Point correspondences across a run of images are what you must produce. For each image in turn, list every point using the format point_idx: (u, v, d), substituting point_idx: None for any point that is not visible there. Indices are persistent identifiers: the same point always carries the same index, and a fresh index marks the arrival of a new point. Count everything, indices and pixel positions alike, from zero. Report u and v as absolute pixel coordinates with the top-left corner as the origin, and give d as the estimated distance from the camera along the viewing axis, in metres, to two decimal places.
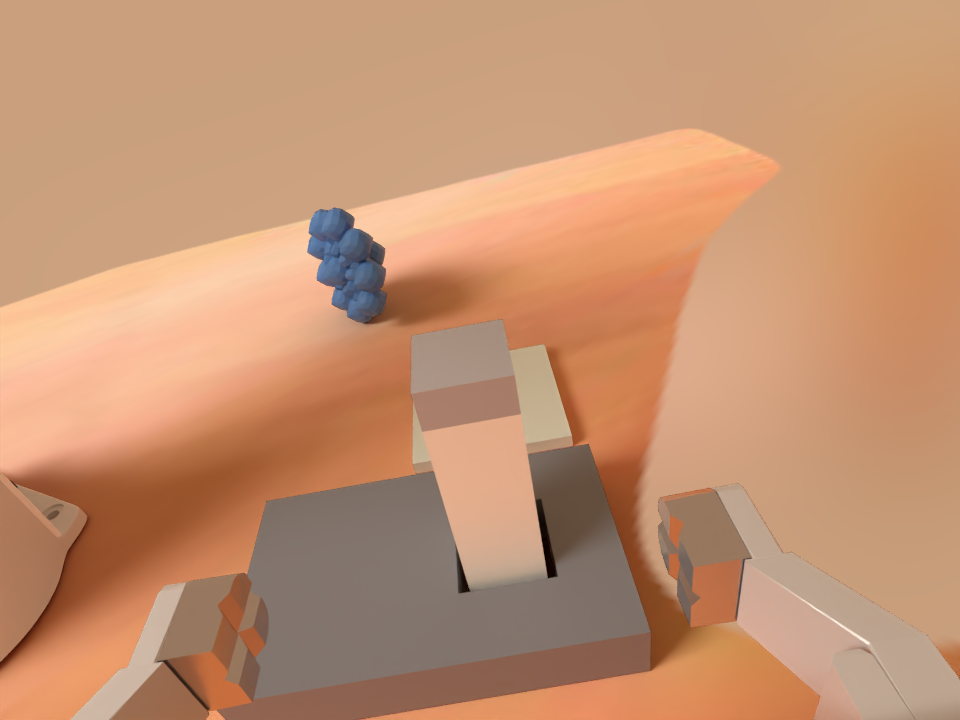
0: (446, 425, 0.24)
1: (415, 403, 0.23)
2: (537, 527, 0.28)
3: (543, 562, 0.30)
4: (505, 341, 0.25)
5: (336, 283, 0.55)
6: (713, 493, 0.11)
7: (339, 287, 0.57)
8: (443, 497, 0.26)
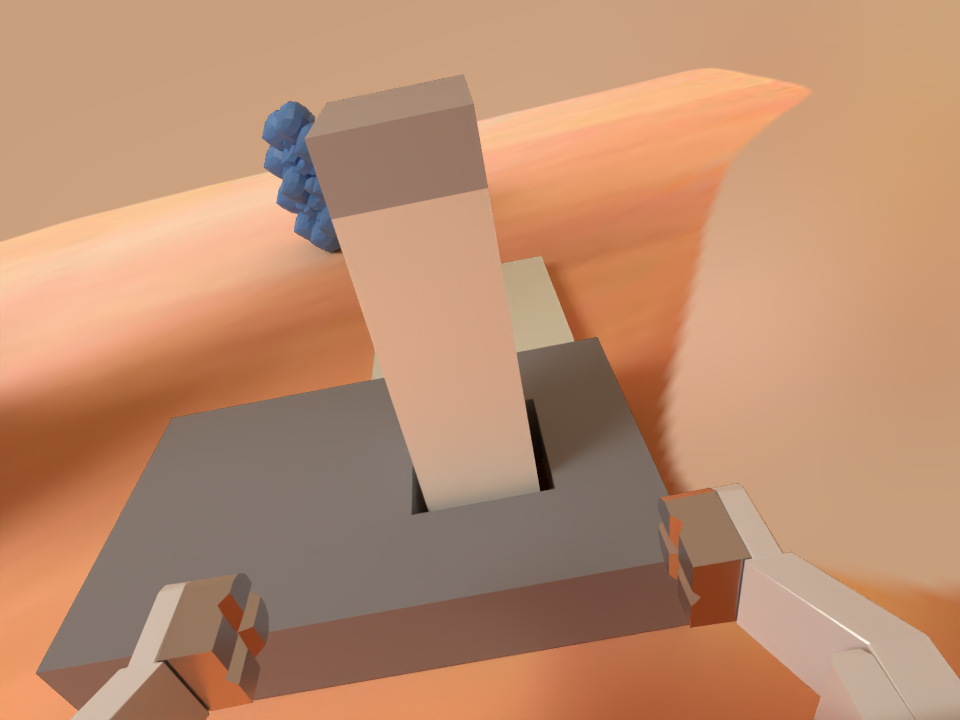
0: (369, 207, 0.15)
1: (314, 159, 0.14)
2: (522, 407, 0.19)
3: (533, 468, 0.21)
4: (464, 85, 0.16)
5: (295, 199, 0.47)
6: (713, 493, 0.11)
7: (301, 207, 0.49)
8: (377, 349, 0.17)
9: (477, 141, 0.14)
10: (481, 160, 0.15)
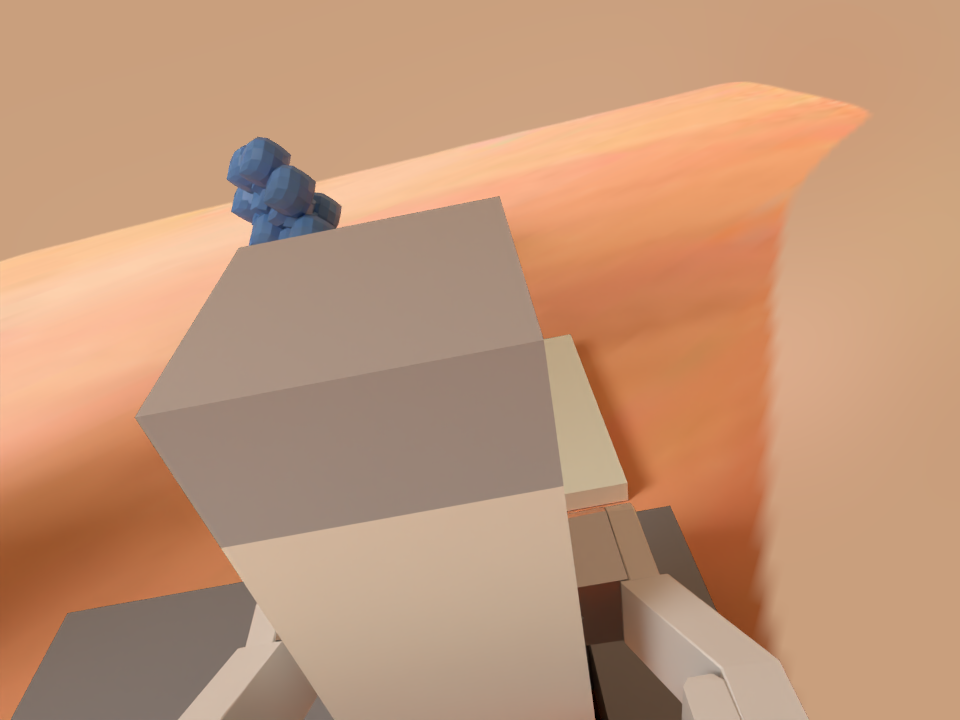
0: (302, 526, 0.07)
1: (165, 454, 0.06)
2: None
3: None
4: (507, 243, 0.08)
5: None
6: (603, 513, 0.11)
7: None
8: (333, 712, 0.09)
9: (547, 410, 0.06)
10: (553, 441, 0.06)
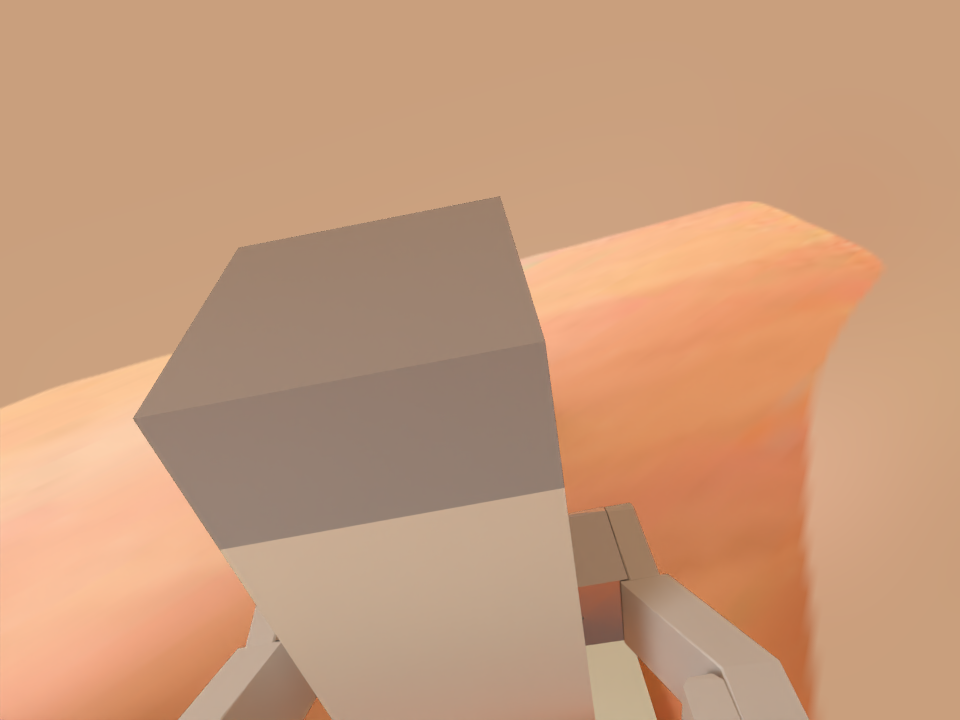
0: (302, 528, 0.07)
1: (164, 455, 0.06)
2: None
3: None
4: (508, 244, 0.08)
5: None
6: (603, 513, 0.11)
7: None
8: (333, 714, 0.09)
9: (548, 411, 0.06)
10: (554, 442, 0.06)
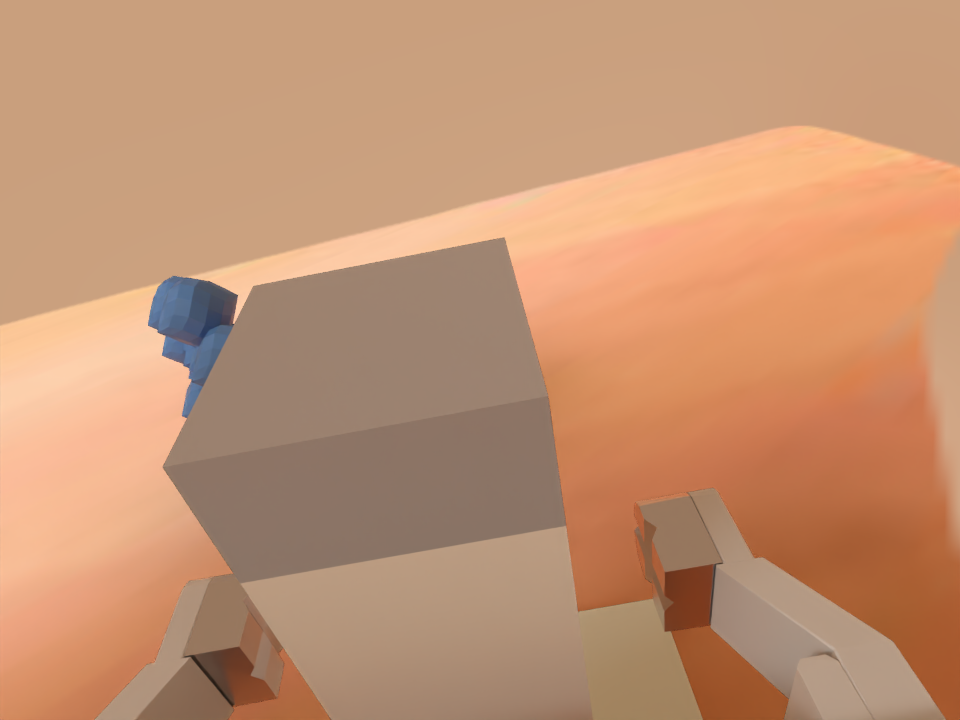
0: (318, 563, 0.07)
1: (190, 499, 0.06)
2: None
3: None
4: (513, 290, 0.08)
5: None
6: (687, 498, 0.11)
7: None
8: None
9: (551, 458, 0.06)
10: (556, 485, 0.07)
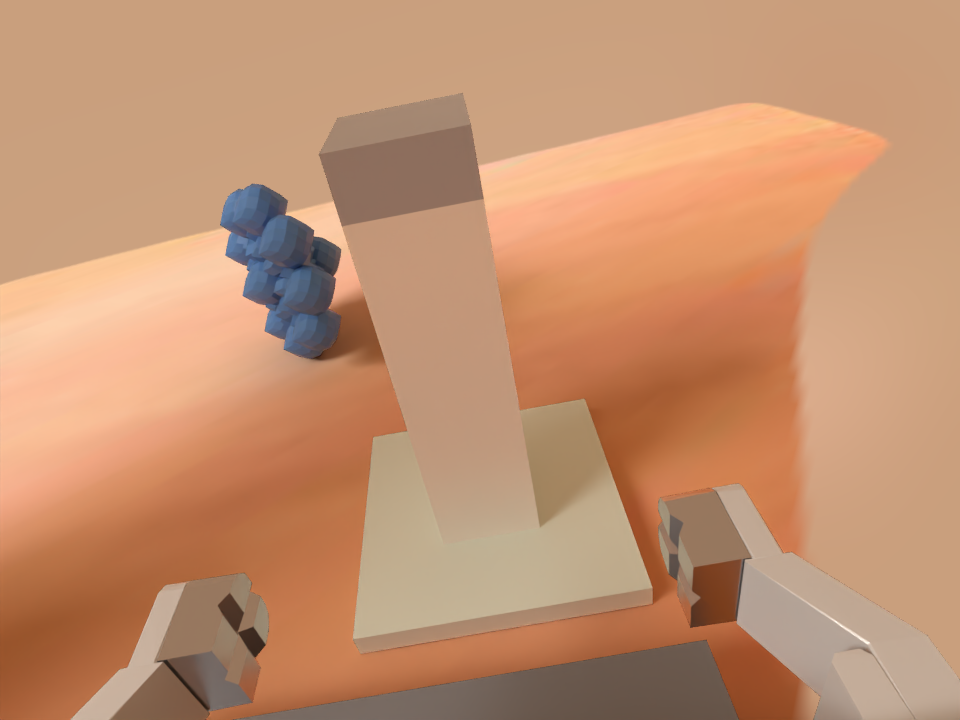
0: (376, 215, 0.17)
1: (327, 172, 0.16)
2: (515, 398, 0.21)
3: (525, 455, 0.22)
4: (463, 105, 0.17)
5: (264, 301, 0.37)
6: (713, 493, 0.11)
7: (272, 306, 0.38)
8: (381, 343, 0.19)
9: (474, 157, 0.16)
10: (477, 174, 0.16)
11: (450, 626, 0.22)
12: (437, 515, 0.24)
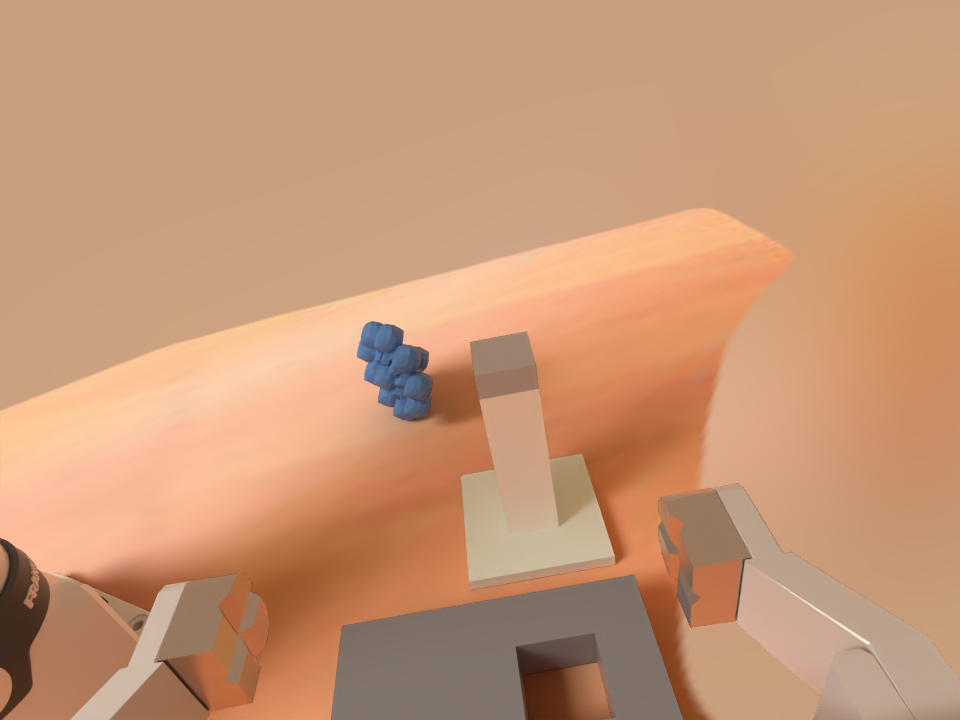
0: (494, 395, 0.40)
1: (476, 381, 0.39)
2: (548, 465, 0.44)
3: (552, 491, 0.45)
4: (529, 345, 0.40)
5: (385, 388, 0.60)
6: (713, 493, 0.11)
7: (386, 389, 0.61)
8: (489, 443, 0.42)
9: (536, 375, 0.39)
10: (537, 380, 0.39)
11: (516, 575, 0.45)
12: (507, 520, 0.47)
